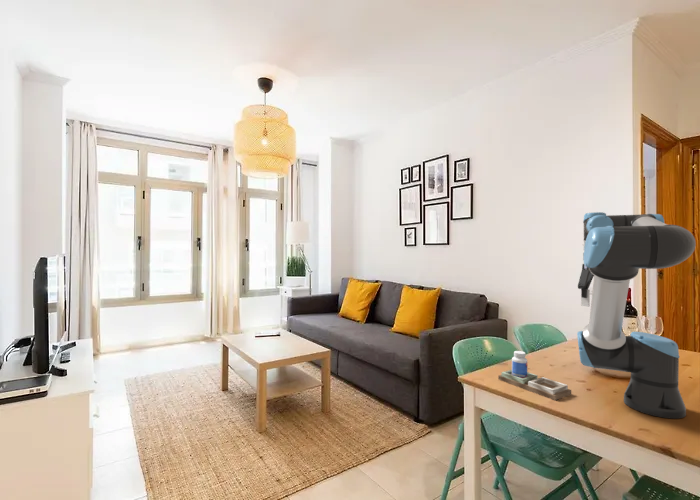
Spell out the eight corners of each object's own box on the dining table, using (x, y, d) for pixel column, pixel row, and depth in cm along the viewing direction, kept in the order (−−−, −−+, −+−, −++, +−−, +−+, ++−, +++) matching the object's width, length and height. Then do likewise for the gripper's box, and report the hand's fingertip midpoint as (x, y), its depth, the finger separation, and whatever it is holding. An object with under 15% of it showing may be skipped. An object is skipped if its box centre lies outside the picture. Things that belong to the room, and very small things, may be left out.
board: (571, 394, 124) (571, 385, 124) (555, 400, 119) (555, 391, 119) (514, 374, 143) (514, 367, 143) (498, 379, 138) (498, 371, 138)
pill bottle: (529, 380, 133) (529, 354, 132) (513, 379, 134) (513, 353, 134) (525, 375, 138) (525, 350, 138) (510, 374, 139) (510, 349, 139)
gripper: (599, 251, 151) (599, 301, 151) (567, 251, 138) (567, 305, 138) (620, 251, 145) (619, 303, 145) (588, 251, 132) (588, 308, 132)
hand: (594, 304), depth 142 cm, fingers open, 13 cm apart
